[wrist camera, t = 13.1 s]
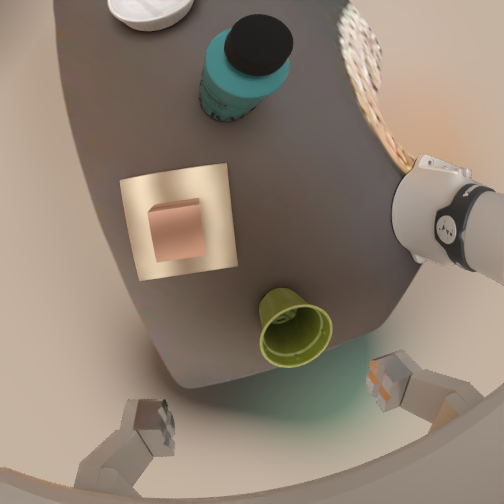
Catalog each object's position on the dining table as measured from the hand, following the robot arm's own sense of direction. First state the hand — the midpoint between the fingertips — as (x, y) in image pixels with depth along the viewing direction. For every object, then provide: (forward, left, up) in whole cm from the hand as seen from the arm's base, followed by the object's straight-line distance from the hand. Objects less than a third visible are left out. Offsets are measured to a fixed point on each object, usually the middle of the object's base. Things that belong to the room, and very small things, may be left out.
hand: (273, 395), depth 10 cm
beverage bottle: (-3, -16, -29) cm, 33 cm away
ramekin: (+5, -32, -29) cm, 43 cm away
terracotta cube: (+4, -2, -24) cm, 25 cm away
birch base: (+4, -2, -28) cm, 29 cm away
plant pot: (-8, +13, -29) cm, 32 cm away
